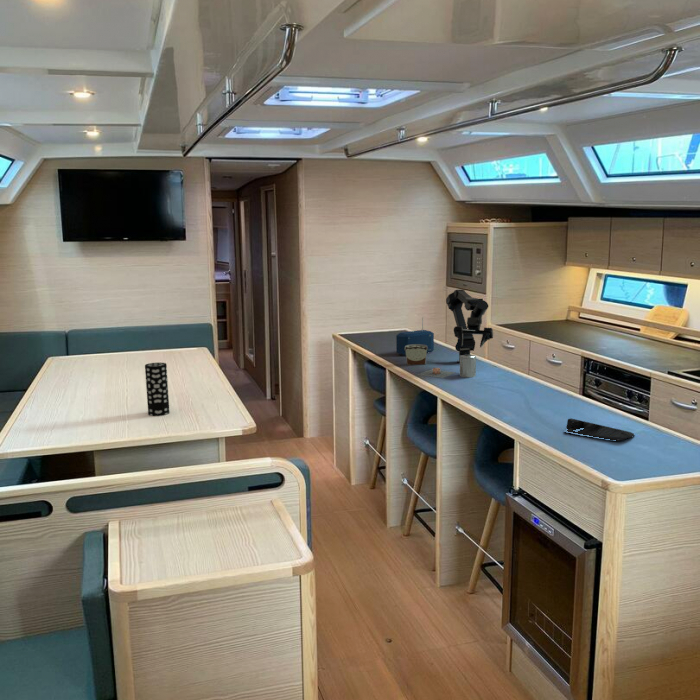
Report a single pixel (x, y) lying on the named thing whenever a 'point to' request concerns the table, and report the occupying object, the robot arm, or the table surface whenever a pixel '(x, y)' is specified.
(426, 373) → the grey mat
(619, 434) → the black knife blade
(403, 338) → the radio
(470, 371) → the steel cup
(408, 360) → the food container
